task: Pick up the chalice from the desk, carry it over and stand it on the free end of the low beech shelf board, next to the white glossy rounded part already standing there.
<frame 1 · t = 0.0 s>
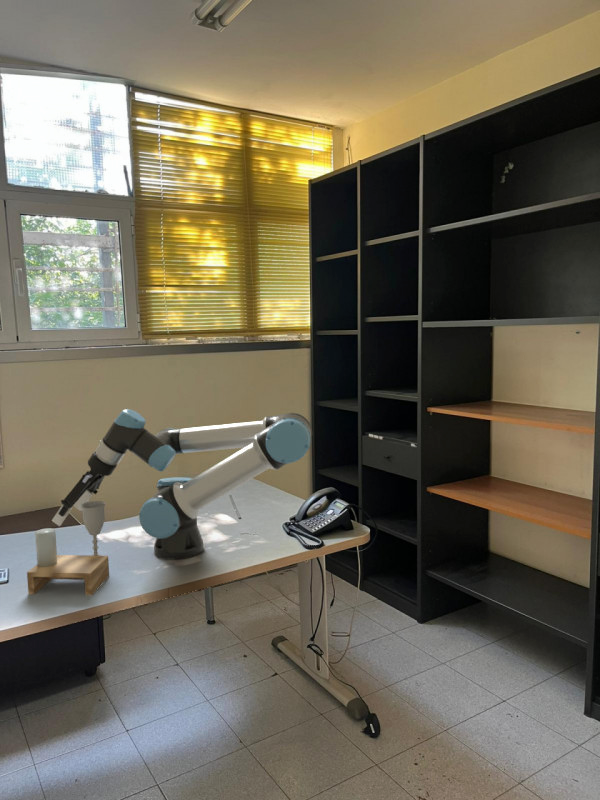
hand: (67, 515, 172), 15 cm above the table, tool tilted 35°, fingers open, 13 cm apart
chalice: (96, 563, 175), on the table
shelf: (70, 584, 160), on the table
white glossy rounded part: (47, 563, 160), point 6 cm above the table, touching shelf
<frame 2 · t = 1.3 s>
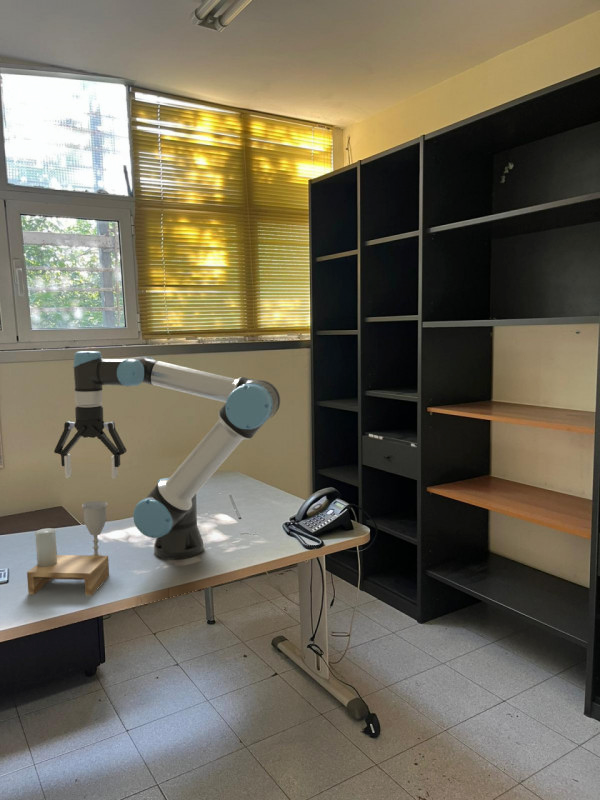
hand: (91, 477, 172), 26 cm above the table, tool pointing down, fingers open, 13 cm apart
nothing on the table moved.
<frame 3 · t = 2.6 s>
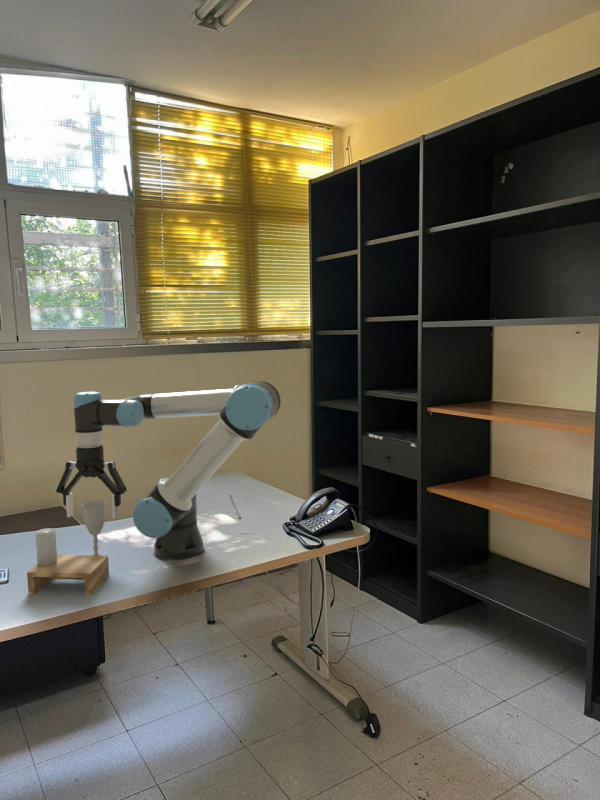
hand: (92, 516, 174), 14 cm above the table, tool pointing down, fingers open, 13 cm apart
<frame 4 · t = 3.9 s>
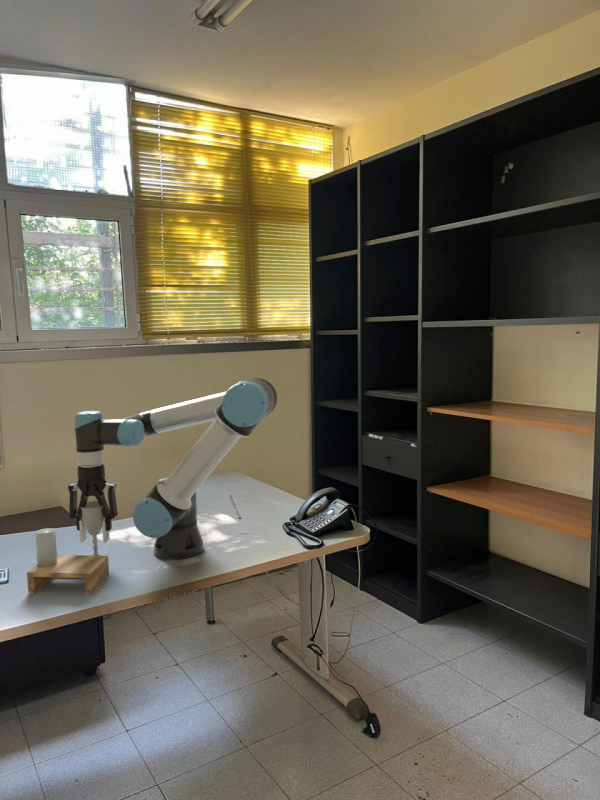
hand: (95, 540, 174), 7 cm above the table, tool pointing down, fingers closed on chalice, 6 cm apart
chalice: (96, 563, 175), on the table, touching gripper
everything else where it was.
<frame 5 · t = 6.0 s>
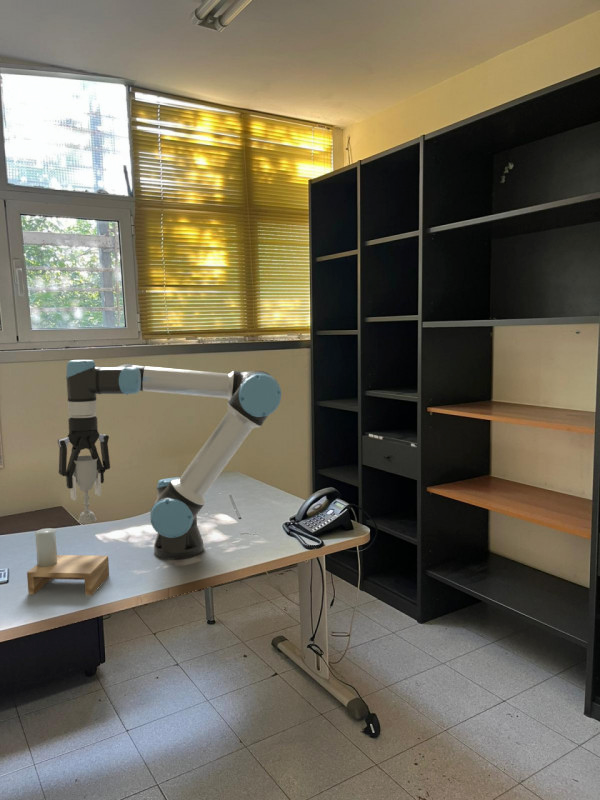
hand: (86, 496, 166), 22 cm above the table, tool pointing down, fingers closed on chalice, 6 cm apart
chalice: (87, 521, 167), point 15 cm above the table, touching gripper
everything else where it was.
when the fingers open (14 cm above the table, at t = 8.2 s): chalice drops 1 cm, resting on shelf.
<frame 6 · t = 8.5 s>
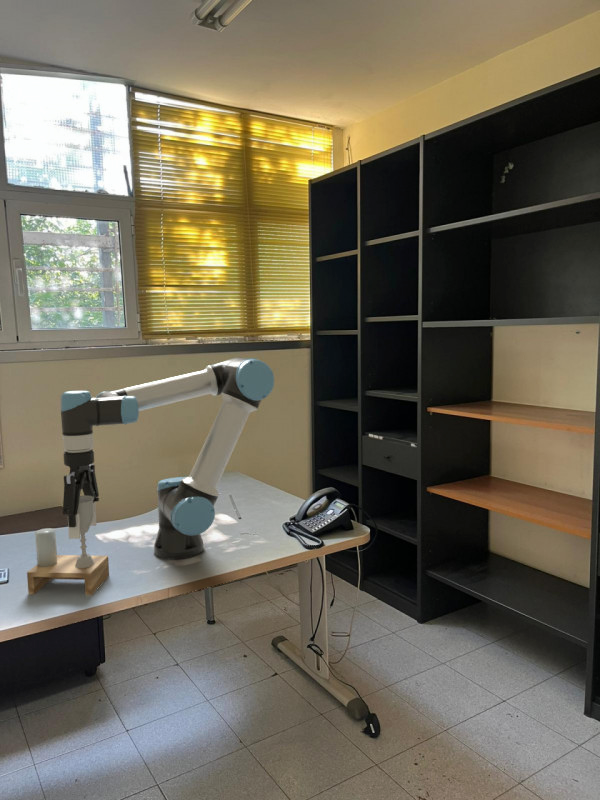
hand: (83, 531, 158), 15 cm above the table, tool pointing down, fingers open, 9 cm apart
chalice: (84, 564, 159), point 6 cm above the table, touching shelf
everything else where it was.
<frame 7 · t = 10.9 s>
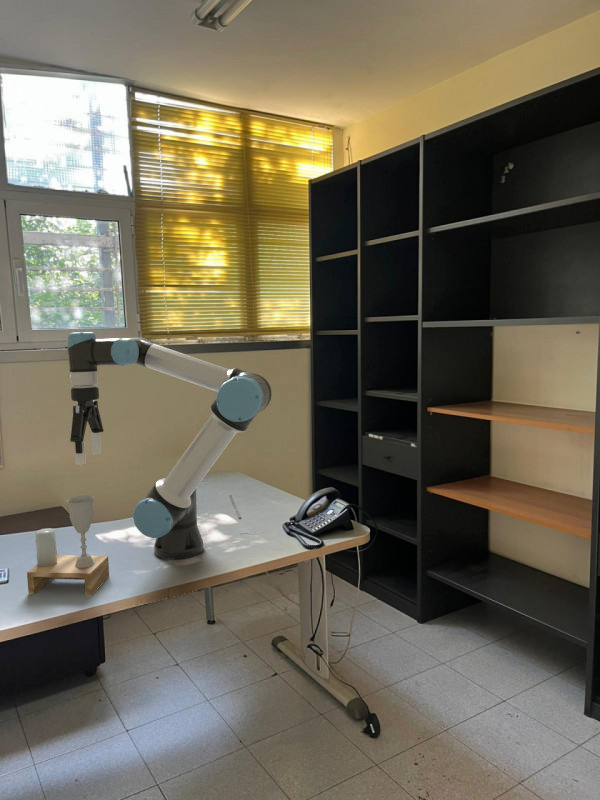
hand: (89, 459, 171), 32 cm above the table, tool pointing down, fingers open, 13 cm apart
nothing on the table moved.
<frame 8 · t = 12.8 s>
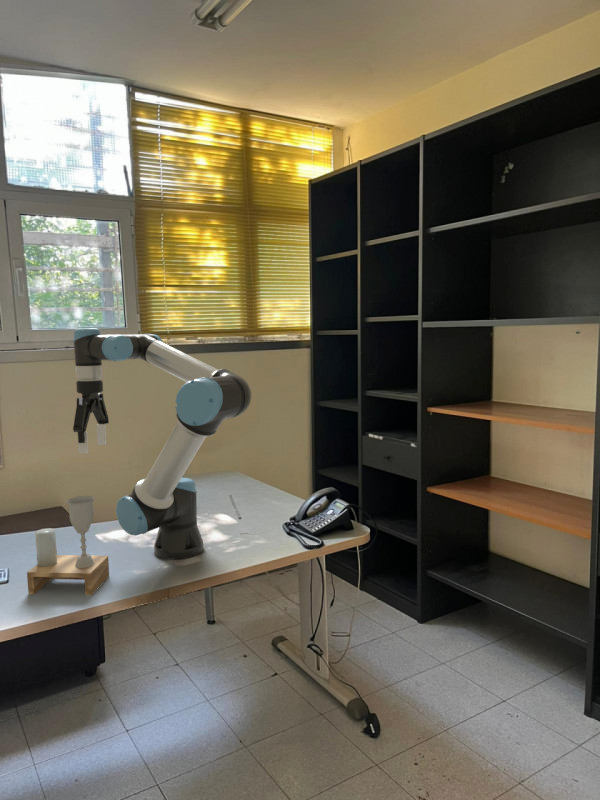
hand: (93, 449, 180), 33 cm above the table, tool pointing down, fingers open, 13 cm apart
nothing on the table moved.
at the end: chalice inside the target area on the shelf (0.5 cm from its centre), point 5.8 cm above the shelf's base; chalice tilted 1°; white glossy rounded part moved 0.1 cm from its start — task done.
